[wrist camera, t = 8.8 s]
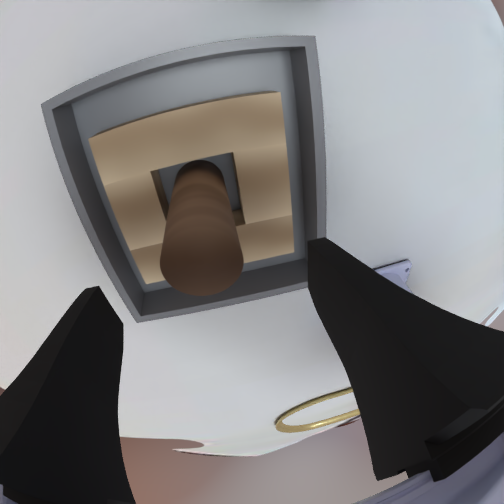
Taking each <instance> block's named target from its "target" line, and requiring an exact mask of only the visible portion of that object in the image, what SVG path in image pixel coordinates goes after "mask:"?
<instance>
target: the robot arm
mask: <svg viewBox="0 0 504 504" xmlns="http://www.w3.org/2000/svg"><path fill="white" fill-rule="evenodd" d="M307 249H308V289H309V291H310V294H311V297H312V300H313V303H314V305H315V308H316V311H317V313H318V315H319V317H320V319H321V321H322V323H323V325H324V327H325V329H326V331H327V333H328V335H329V337H330V339H331V341H332V343H333V345H334V347H335V349H336V351H337V353H338V355H339V357H340V359H341V361H342V363H343V365H344V368H345V370H346V372H347V375H348V378H349V381H350V384H351V387H352V389H353V392H354V395H355V398H356V402H357V405H358V408H359V411H360V415H361V418H362V422H363V425H364V429H365V433H366V437H367V441H368V445H369V450H370V455H371V459H372V465H373V470H374V474H375V476H376V479H377V481H379V480H382V479H385V478H389V477H392V476H395V475H398V474H400V473H402V472H404V471H406V473H407V475H408V478H409V479H407V480H405V481H403V482H401V483H399V484H397V485H395V486H393V487H391V488H389V489H387V490H384V491H383V492H380V493H378V494H375V495H373V496H371V497H368V498H366V499H364V500H361V501H358V502H356V503H353V504H504V332H503V331H499V330H496V329H492V328H489V327H487V326H484V325H481V324H478V323H475V322H472V321H470V320H467V319H464V318H462V317H459V316H457V315H455V314H453V313H450V312H448V311H446V310H443V309H441V308H439V307H437V306H435V305H433V304H431V303H429V302H427V301H425V300H423V299H421V298H419V297H418V296H416V295H414V294H413V293H412V292H411V290H410V289H409V288H408V286H407V285H406V282H407V279H408V275H409V272H410V269H411V265H412V263H411V262H410V261H409V260H407V261H403V262H400V263H397V264H393V265H390V266H387V267H383V268H380V269H376V270H373V269H371V268H370V267H368V266H367V265H365V264H364V263H362V262H361V261H359V260H358V259H356V258H355V257H353V256H352V255H351V254H349V253H348V252H346V251H345V250H343V249H342V248H340V247H339V246H338V245H336V244H335V243H333V242H332V241H330V240H329V239H327V238H325V237H323V238H318V239H314V240H309V241H307ZM122 356H123V323H122V321H121V320H120V318H119V317H118V315H117V314H116V312H115V311H114V309H113V308H112V306H111V305H110V303H109V301H108V300H107V298H106V297H105V295H104V293H103V292H102V290H101V289H100V287H99V286H96V287H91V288H86V289H85V290H84V291H83V292H82V293H81V294H80V295H79V296H78V297H77V299H76V300H75V301H74V302H73V304H72V305H71V306H70V307H69V309H68V310H67V311H66V313H65V314H64V315H63V317H62V318H61V319H60V321H59V322H58V323H57V325H56V326H55V328H54V329H53V330H52V332H51V333H50V335H49V336H48V337H47V339H46V340H45V341H44V343H43V344H42V345H41V347H40V348H39V350H38V351H37V352H36V354H35V355H34V356H33V358H32V359H31V360H30V362H29V363H28V364H27V366H26V367H25V368H24V369H23V370H22V372H21V373H20V374H19V375H18V377H17V378H16V379H15V380H14V381H13V382H12V383H11V385H10V386H9V387H8V388H7V389H6V390H5V391H4V392H3V394H2V395H1V396H0V504H136V502H135V500H134V497H133V494H132V491H131V488H130V485H129V482H128V479H127V475H126V471H125V467H124V462H123V457H122V451H121V444H120V437H119V425H118V395H119V384H120V374H121V365H122Z"/></svg>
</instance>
